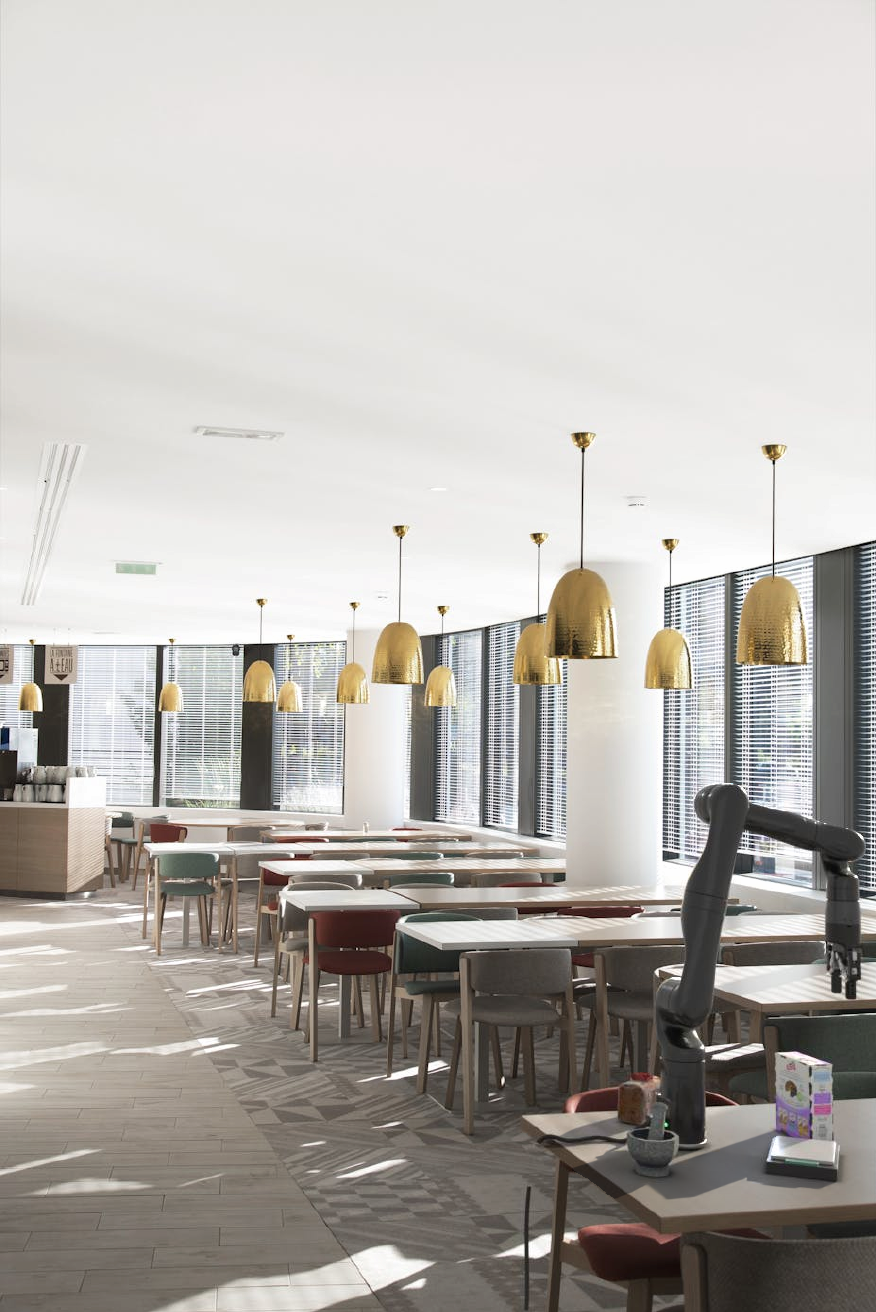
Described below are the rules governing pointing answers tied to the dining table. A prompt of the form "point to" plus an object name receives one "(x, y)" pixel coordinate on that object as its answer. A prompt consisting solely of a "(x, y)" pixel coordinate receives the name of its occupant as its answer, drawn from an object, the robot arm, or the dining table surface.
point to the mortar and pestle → (653, 1145)
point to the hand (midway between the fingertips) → (843, 996)
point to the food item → (637, 1098)
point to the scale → (804, 1158)
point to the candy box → (804, 1096)
